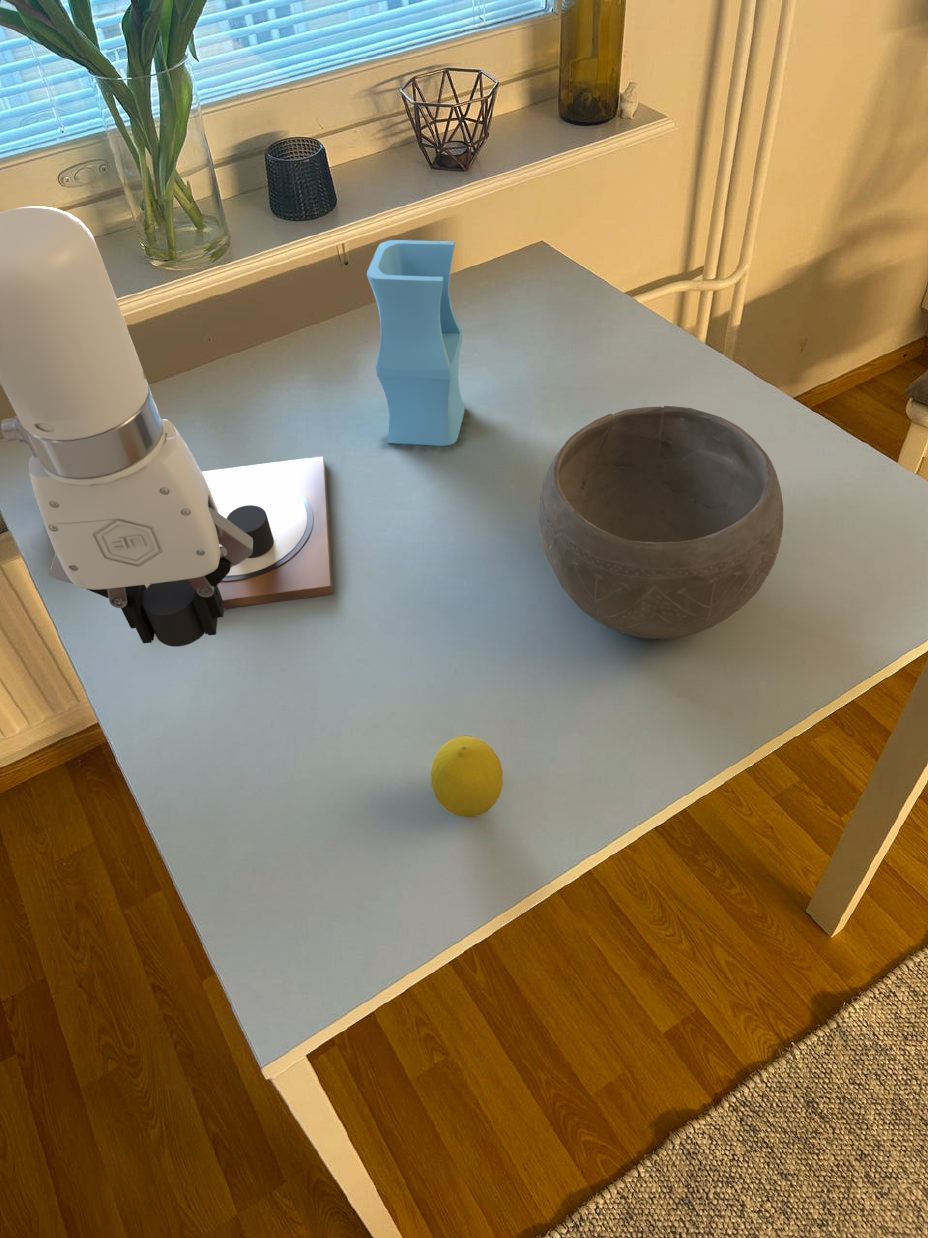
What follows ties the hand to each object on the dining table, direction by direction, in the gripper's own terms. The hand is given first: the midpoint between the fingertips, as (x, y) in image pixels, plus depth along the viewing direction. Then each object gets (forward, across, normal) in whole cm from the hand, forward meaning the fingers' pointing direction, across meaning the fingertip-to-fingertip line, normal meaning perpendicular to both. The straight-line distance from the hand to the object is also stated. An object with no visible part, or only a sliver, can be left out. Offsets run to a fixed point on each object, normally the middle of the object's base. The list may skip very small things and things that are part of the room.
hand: (181, 623), depth 70 cm
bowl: (+15, +39, +10) cm, 43 cm away
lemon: (+15, +20, -10) cm, 27 cm away
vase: (+15, +21, +40) cm, 47 cm away
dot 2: (+13, +2, +22) cm, 25 cm away
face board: (+14, 0, +25) cm, 28 cm away
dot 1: (0, 0, 0) cm, 0 cm away
